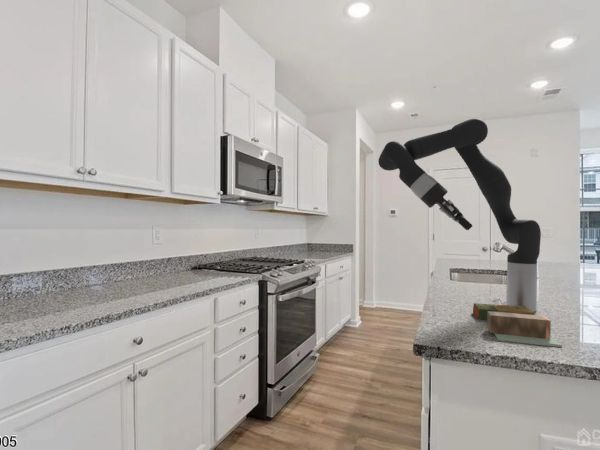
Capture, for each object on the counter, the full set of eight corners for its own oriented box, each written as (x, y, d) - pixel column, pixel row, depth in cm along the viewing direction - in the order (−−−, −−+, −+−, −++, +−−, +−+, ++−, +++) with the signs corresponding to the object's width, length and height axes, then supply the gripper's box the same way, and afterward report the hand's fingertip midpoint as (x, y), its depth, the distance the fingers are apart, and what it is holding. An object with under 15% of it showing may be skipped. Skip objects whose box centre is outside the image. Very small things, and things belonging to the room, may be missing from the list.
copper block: (490, 315, 93) (550, 320, 89) (487, 311, 98) (544, 315, 93) (490, 333, 93) (550, 339, 89) (487, 328, 98) (543, 333, 93)
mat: (498, 340, 89) (498, 338, 89) (489, 326, 102) (489, 324, 102) (561, 347, 85) (561, 344, 85) (543, 332, 97) (543, 330, 97)
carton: (534, 325, 105) (535, 311, 105) (478, 321, 109) (478, 308, 109) (525, 318, 113) (525, 305, 113) (472, 314, 117) (472, 302, 117)
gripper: (438, 178, 101) (483, 219, 97) (436, 184, 114) (476, 220, 109) (419, 196, 103) (463, 237, 99) (419, 199, 115) (458, 236, 111)
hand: (469, 228), depth 104 cm, fingers closed
